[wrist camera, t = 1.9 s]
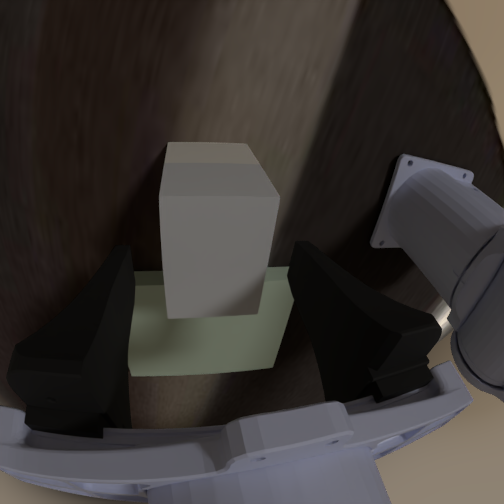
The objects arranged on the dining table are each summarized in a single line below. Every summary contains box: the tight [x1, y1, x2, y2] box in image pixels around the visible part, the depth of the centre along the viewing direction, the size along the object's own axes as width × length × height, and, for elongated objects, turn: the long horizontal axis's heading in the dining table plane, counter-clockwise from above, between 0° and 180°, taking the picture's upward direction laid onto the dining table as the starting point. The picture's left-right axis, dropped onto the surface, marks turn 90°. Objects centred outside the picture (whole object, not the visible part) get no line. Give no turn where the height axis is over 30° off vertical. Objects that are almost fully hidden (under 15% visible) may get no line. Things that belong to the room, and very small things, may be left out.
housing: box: [159, 142, 280, 319], centre depth 16 cm, size 4×6×7 cm
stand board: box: [128, 267, 294, 376], centre depth 25 cm, size 14×12×2 cm
